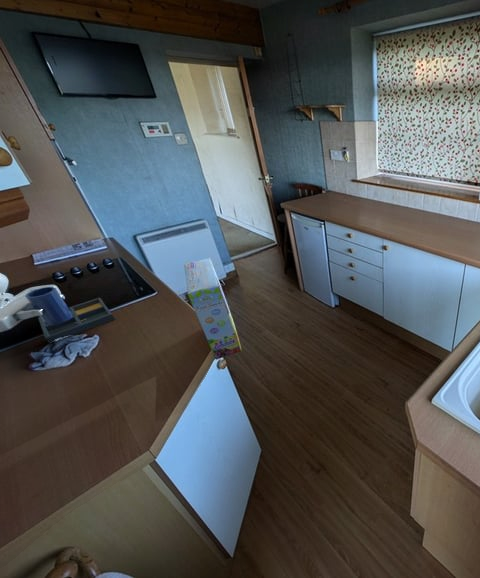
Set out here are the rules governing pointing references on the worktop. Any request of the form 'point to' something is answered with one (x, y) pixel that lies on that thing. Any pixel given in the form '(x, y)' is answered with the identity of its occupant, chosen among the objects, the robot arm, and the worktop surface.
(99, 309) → the grey divided tray
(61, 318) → the cup
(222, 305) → the snack box
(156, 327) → the worktop surface
